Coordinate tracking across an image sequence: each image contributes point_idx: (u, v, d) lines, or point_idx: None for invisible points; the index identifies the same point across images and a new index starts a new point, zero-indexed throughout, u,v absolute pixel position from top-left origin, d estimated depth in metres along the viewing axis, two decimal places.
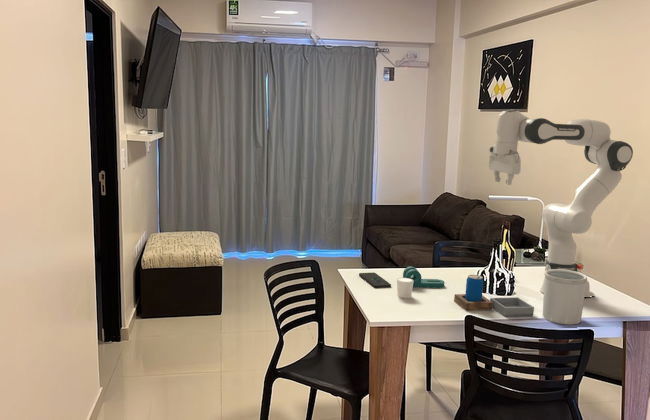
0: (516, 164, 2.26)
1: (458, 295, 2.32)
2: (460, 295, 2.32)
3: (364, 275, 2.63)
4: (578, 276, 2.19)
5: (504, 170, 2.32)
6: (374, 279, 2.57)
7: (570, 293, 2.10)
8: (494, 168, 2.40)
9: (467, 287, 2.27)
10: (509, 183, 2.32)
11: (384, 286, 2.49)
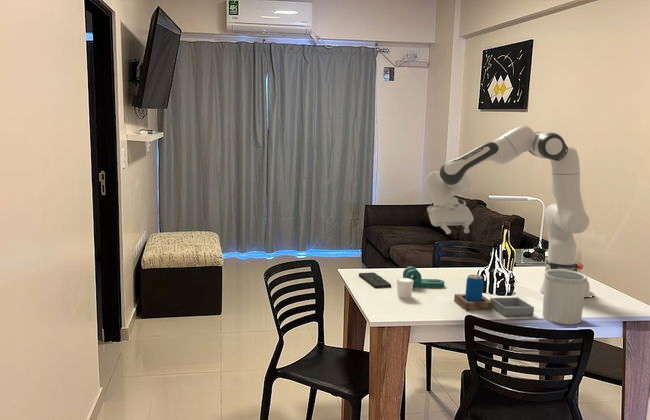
0: (431, 216, 2.36)
1: (458, 295, 2.32)
2: (460, 295, 2.32)
3: (363, 275, 2.63)
4: (578, 276, 2.19)
5: None
6: (374, 279, 2.57)
7: (570, 293, 2.10)
8: None
9: (467, 287, 2.27)
10: (447, 232, 2.34)
11: (384, 286, 2.49)
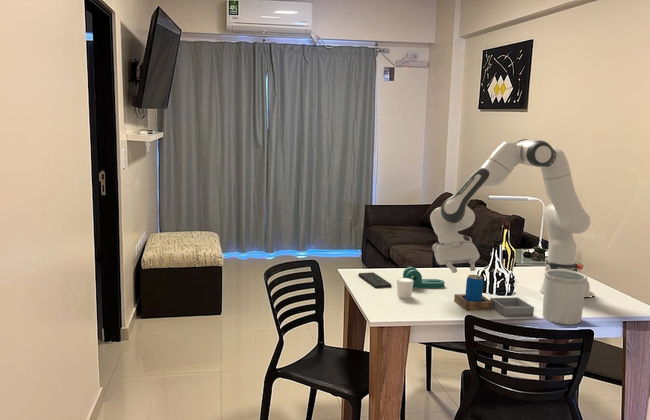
0: (436, 255, 2.34)
1: (458, 295, 2.32)
2: (460, 295, 2.32)
3: (363, 275, 2.63)
4: (578, 276, 2.19)
5: None
6: (374, 279, 2.57)
7: (570, 293, 2.10)
8: None
9: (467, 287, 2.27)
10: (453, 271, 2.31)
11: (385, 286, 2.49)
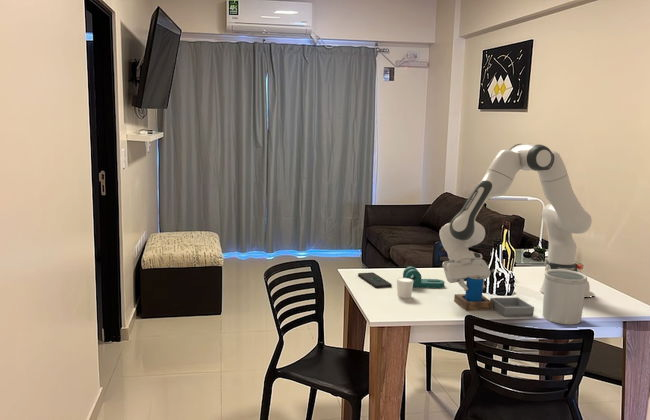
0: (446, 272, 2.28)
1: (458, 295, 2.32)
2: (460, 295, 2.32)
3: (363, 275, 2.63)
4: (578, 276, 2.19)
5: None
6: (374, 279, 2.57)
7: (570, 293, 2.10)
8: None
9: None
10: (465, 289, 2.26)
11: (385, 286, 2.49)
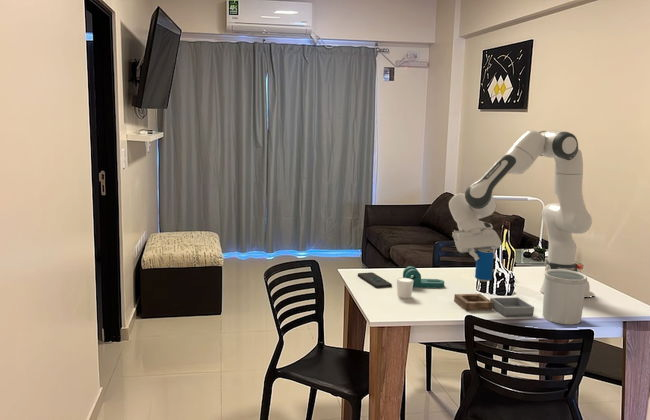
0: (456, 242, 2.25)
1: (458, 295, 2.32)
2: (460, 295, 2.32)
3: (363, 275, 2.63)
4: (578, 276, 2.19)
5: None
6: (374, 279, 2.57)
7: (570, 293, 2.10)
8: None
9: (477, 261, 2.25)
10: (476, 258, 2.23)
11: (385, 286, 2.49)
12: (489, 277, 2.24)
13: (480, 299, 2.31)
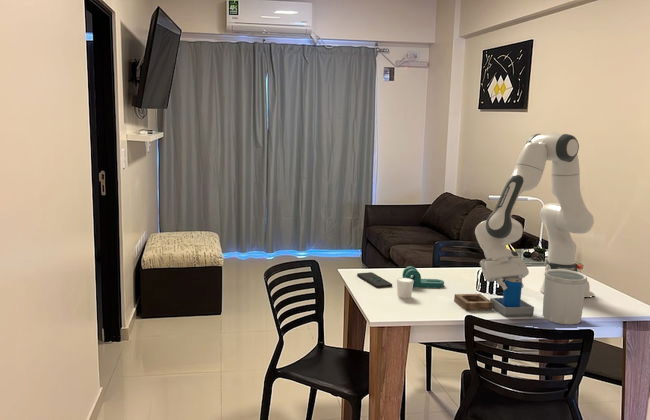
0: (484, 271, 2.23)
1: (458, 295, 2.32)
2: (460, 295, 2.32)
3: (362, 275, 2.63)
4: (578, 276, 2.19)
5: None
6: (374, 279, 2.57)
7: (570, 293, 2.10)
8: None
9: (505, 290, 2.22)
10: (504, 288, 2.21)
11: (386, 286, 2.49)
12: None
13: (480, 299, 2.31)
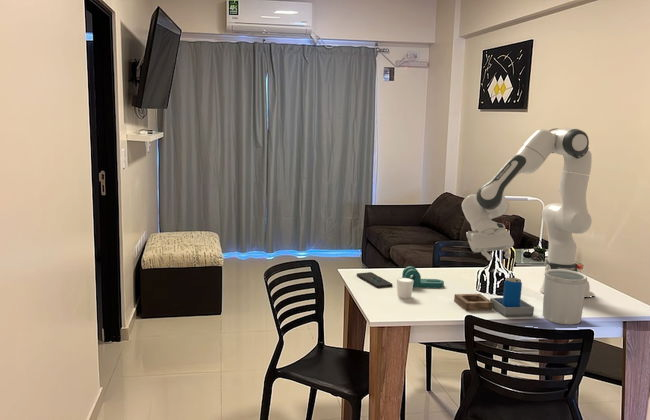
0: (471, 242, 2.30)
1: (458, 295, 2.32)
2: (460, 295, 2.32)
3: (362, 275, 2.63)
4: (578, 276, 2.19)
5: None
6: (374, 279, 2.57)
7: (570, 293, 2.10)
8: None
9: (505, 290, 2.22)
10: (488, 258, 2.28)
11: (386, 286, 2.50)
12: None
13: (480, 299, 2.31)
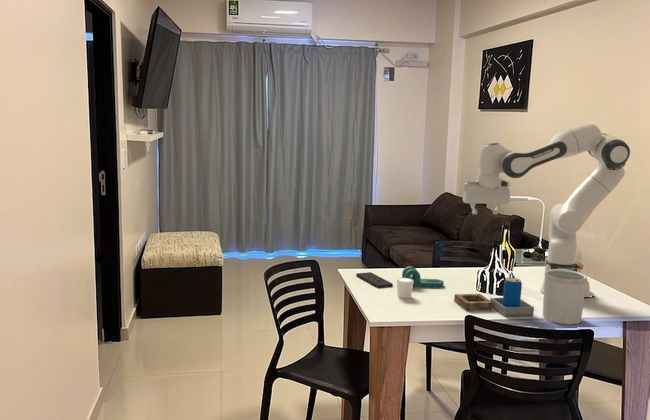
0: (464, 193, 2.40)
1: (458, 295, 2.32)
2: (460, 295, 2.32)
3: (362, 275, 2.63)
4: (578, 276, 2.19)
5: None
6: (374, 279, 2.57)
7: (570, 293, 2.10)
8: None
9: (505, 290, 2.22)
10: (473, 212, 2.42)
11: (386, 285, 2.50)
12: None
13: (480, 299, 2.31)
